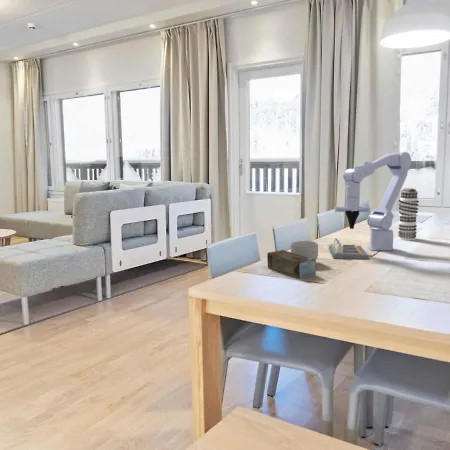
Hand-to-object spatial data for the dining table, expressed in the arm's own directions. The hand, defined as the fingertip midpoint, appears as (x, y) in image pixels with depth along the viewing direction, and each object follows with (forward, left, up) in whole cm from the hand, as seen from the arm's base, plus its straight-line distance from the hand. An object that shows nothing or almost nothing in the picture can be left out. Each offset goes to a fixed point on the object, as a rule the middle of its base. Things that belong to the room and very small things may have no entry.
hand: (351, 228), depth 198 cm
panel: (+2, +3, -10) cm, 11 cm away
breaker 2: (+6, +3, -9) cm, 11 cm away
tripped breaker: (+6, +9, -9) cm, 14 cm away
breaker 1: (+6, -4, -9) cm, 11 cm away
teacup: (+21, +20, -11) cm, 31 cm away
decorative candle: (-32, -35, -11) cm, 49 cm away
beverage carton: (+26, +36, -11) cm, 46 cm away
